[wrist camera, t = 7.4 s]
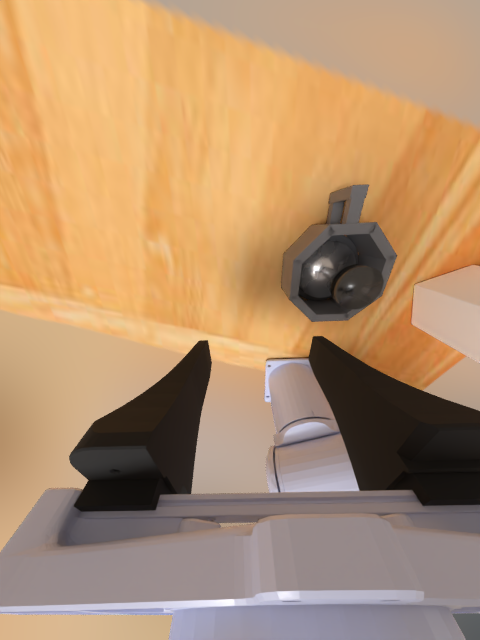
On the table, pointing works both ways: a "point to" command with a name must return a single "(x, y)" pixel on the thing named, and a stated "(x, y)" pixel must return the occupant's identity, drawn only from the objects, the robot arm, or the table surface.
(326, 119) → the table surface
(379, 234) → the grey jug
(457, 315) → the milk
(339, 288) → the plunger
